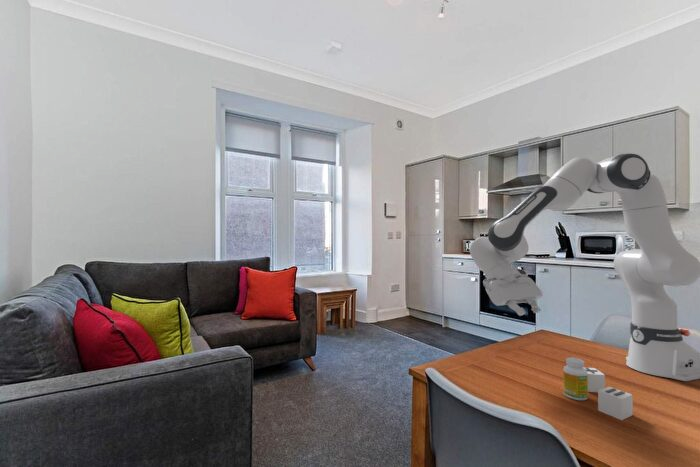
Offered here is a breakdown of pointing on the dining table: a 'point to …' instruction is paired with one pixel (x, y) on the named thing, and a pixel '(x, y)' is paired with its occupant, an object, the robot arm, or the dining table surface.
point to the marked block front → (615, 403)
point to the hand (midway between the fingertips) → (530, 313)
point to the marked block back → (595, 380)
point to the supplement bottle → (575, 379)
